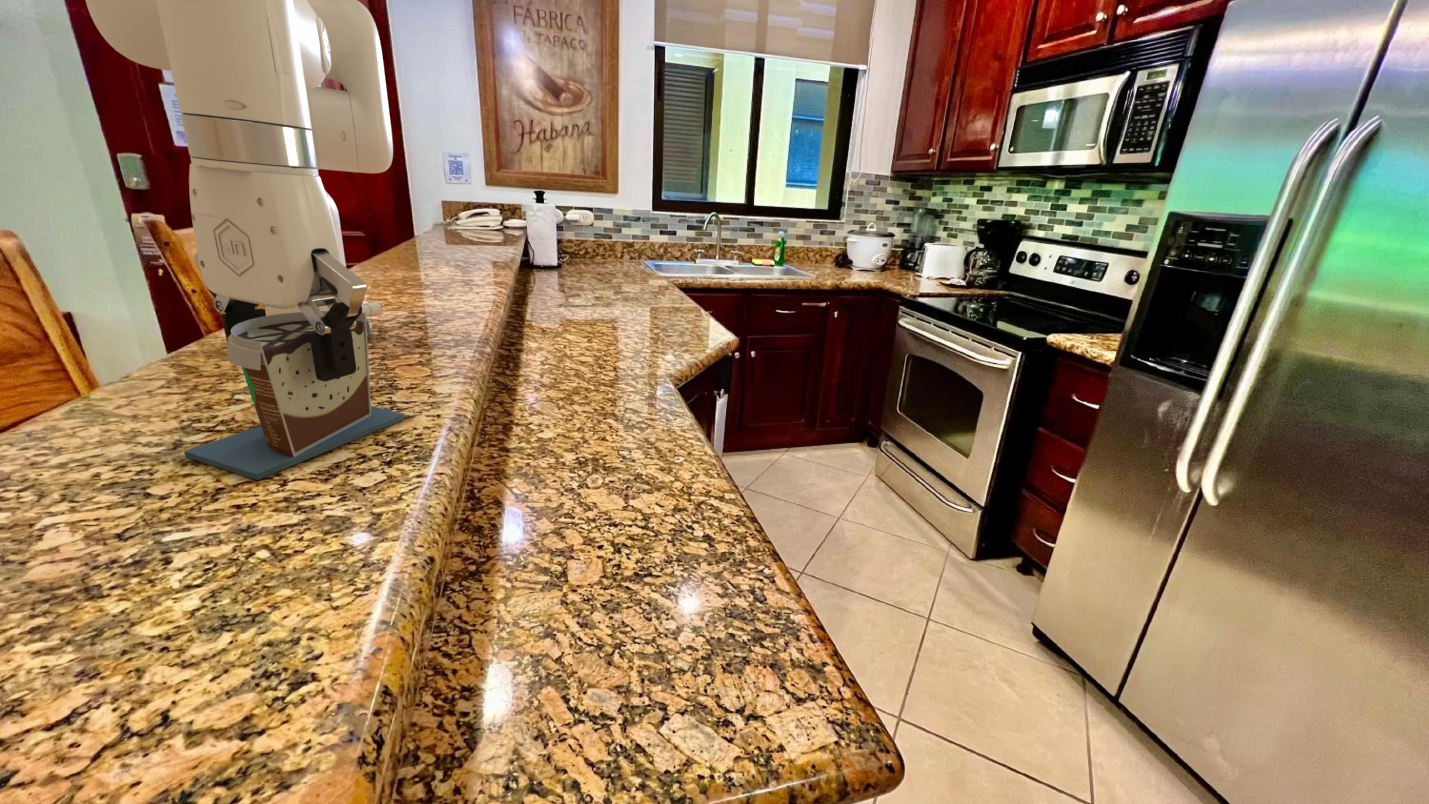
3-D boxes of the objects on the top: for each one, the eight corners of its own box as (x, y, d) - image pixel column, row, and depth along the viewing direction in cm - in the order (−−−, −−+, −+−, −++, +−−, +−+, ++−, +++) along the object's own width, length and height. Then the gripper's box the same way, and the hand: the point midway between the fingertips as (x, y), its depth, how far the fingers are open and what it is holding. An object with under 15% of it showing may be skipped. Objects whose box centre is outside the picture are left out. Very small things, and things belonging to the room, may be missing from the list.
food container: (323, 402, 55) (307, 304, 52) (381, 410, 55) (369, 311, 52) (206, 455, 44) (174, 333, 40) (278, 465, 44) (253, 343, 40)
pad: (343, 403, 57) (342, 398, 57) (405, 419, 55) (404, 413, 55) (185, 457, 44) (183, 450, 44) (257, 480, 42) (255, 473, 42)
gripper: (114, 135, 40) (173, 358, 46) (290, 155, 36) (329, 399, 42) (227, 146, 47) (266, 340, 53) (387, 164, 43) (409, 373, 49)
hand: (294, 366), depth 47 cm, fingers open, 9 cm apart
